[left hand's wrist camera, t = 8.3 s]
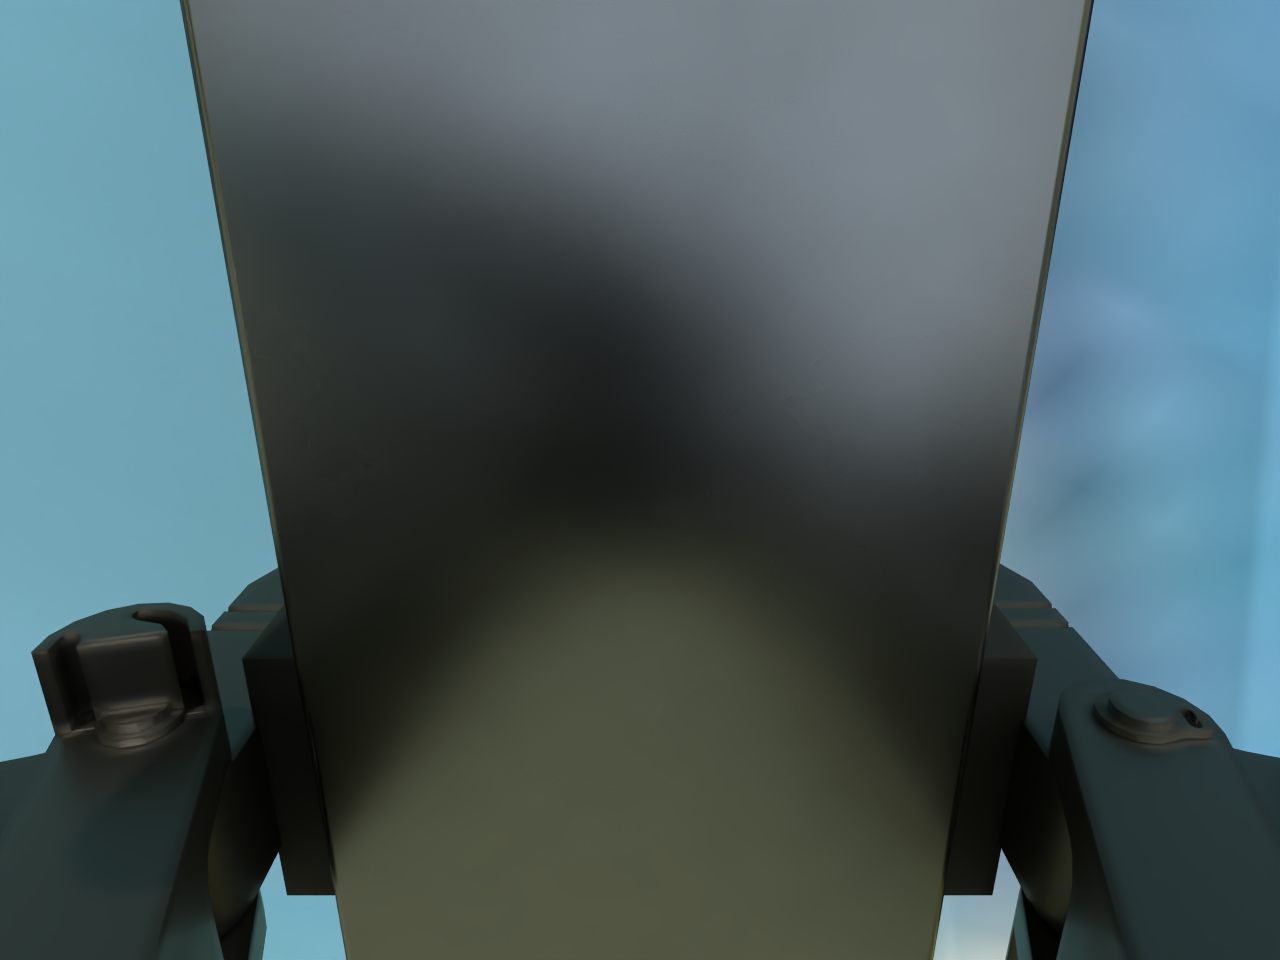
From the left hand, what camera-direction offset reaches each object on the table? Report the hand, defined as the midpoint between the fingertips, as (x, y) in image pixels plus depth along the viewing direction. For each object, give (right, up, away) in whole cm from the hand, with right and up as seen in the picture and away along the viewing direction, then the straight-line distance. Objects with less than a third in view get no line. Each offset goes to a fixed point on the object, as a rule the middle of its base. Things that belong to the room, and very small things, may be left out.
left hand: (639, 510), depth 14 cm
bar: (0, +9, -3) cm, 10 cm away
